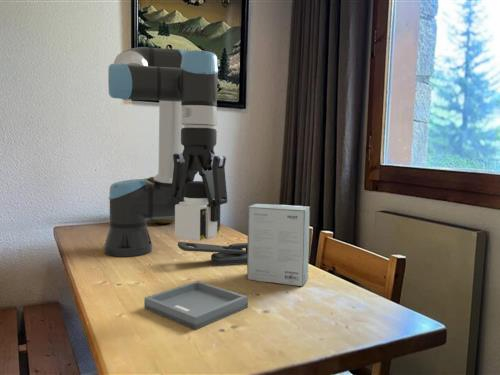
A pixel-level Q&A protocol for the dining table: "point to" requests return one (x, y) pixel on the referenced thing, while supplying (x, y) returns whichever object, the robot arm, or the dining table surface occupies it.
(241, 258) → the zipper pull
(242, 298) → the tray
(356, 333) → the dining table surface
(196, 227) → the medicine bottle
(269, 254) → the hard drive box
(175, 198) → the robot arm
